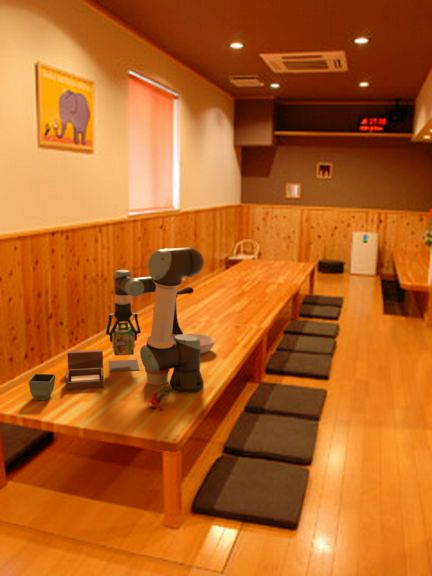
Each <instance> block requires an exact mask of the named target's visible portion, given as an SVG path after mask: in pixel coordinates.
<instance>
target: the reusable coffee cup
mask: <svg viewBox="0 0 432 576" xmlns="http://www.w3.org/2000/svg"><path fill="white" fill-rule="evenodd" d="M144 370H145V373H146V379H147V382H148V383H149V384H151V385H163V384H166V383H167V382H168V379H169V378H168V377H169V376H168V375H169V371H170V369H167V370H162V371H159V372H149V371H147V370H146V368H145V367H144Z"/></svg>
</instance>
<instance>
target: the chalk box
mask: <svg viewBox="0 0 432 576" xmlns="http://www.w3.org/2000/svg"><path fill="white" fill-rule="evenodd" d="M123 325H124V326H123ZM113 334H114V349H113V354H114V356H115V357H117V356H130V355H131V356H133V355H134V349H135V348H134V332H133V330H132V328H131V327H130V326H129V323H128V322H124V321H123V322H119V323H118V325H117V327H116V329H115V331H114V333H113Z"/></svg>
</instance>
